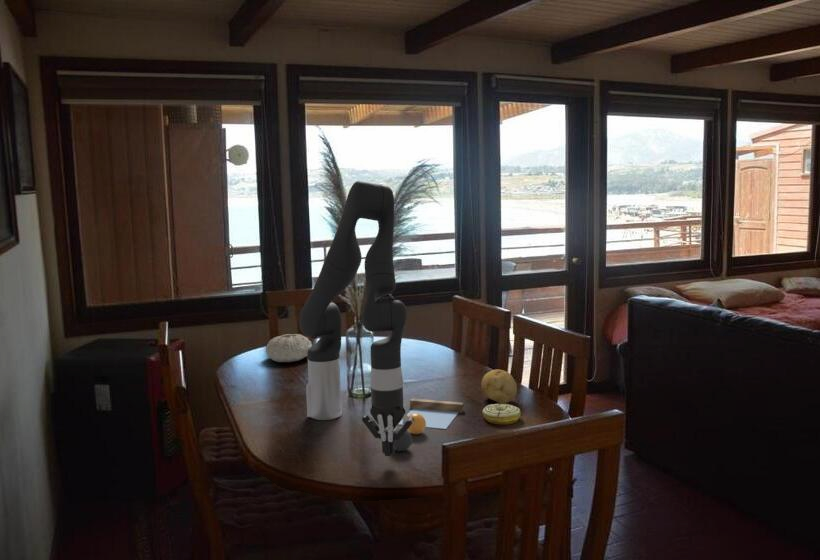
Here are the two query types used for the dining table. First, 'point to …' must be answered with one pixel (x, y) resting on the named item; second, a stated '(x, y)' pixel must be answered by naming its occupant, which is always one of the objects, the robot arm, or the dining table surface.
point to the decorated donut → (501, 414)
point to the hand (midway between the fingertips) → (389, 455)
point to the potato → (499, 386)
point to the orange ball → (417, 424)
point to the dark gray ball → (403, 441)
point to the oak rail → (437, 405)
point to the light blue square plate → (434, 417)
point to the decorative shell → (288, 347)
